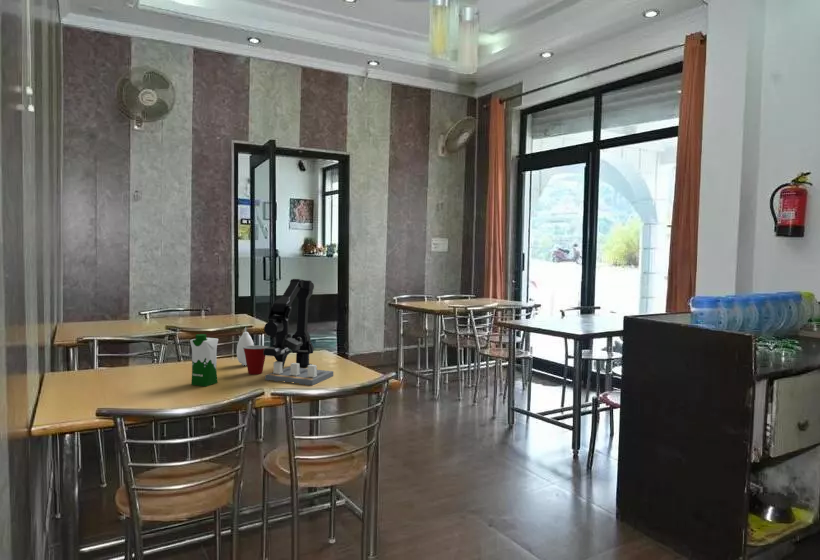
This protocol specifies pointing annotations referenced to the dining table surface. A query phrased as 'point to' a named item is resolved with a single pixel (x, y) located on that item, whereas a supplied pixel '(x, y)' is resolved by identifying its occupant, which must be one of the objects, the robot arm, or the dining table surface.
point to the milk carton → (204, 360)
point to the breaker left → (312, 371)
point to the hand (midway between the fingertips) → (281, 368)
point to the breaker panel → (299, 376)
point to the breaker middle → (295, 369)
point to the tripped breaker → (278, 367)
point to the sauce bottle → (243, 341)
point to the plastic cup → (254, 358)
